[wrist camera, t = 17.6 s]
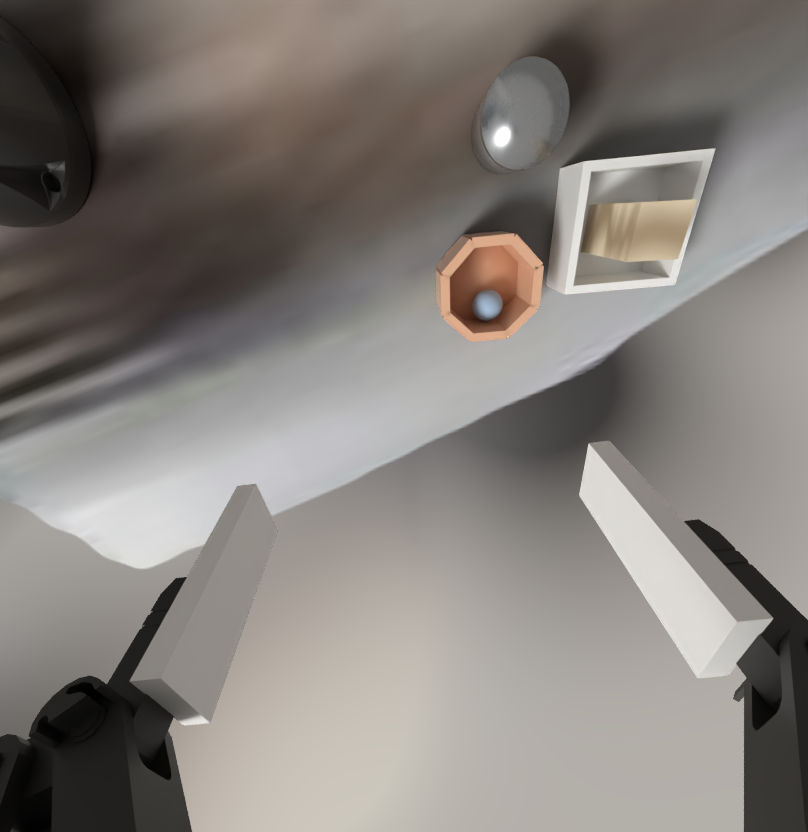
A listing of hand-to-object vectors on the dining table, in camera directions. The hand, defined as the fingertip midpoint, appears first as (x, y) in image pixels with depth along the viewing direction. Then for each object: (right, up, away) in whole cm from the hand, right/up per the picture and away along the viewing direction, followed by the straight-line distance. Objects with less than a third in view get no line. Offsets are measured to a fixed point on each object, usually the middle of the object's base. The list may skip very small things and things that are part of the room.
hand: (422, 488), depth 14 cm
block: (+19, +21, +19) cm, 34 cm away
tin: (+8, +27, +16) cm, 32 cm away
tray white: (+19, +21, +20) cm, 34 cm away
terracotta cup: (+7, +17, +22) cm, 28 cm away
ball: (+8, +15, +19) cm, 25 cm away
